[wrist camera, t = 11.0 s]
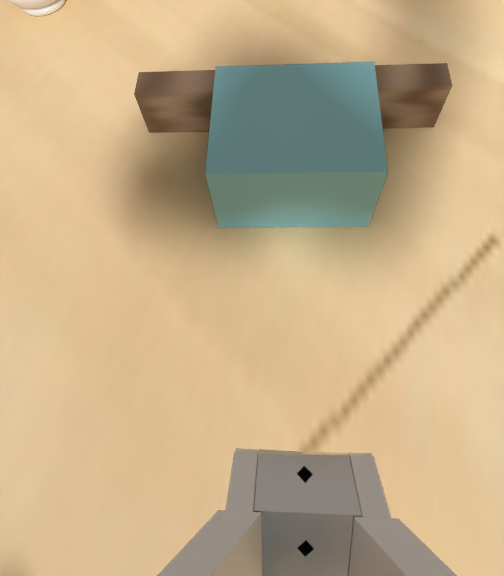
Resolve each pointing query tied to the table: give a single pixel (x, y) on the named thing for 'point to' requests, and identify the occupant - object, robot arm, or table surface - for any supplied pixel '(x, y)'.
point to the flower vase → (38, 6)
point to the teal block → (295, 145)
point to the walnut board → (199, 87)
